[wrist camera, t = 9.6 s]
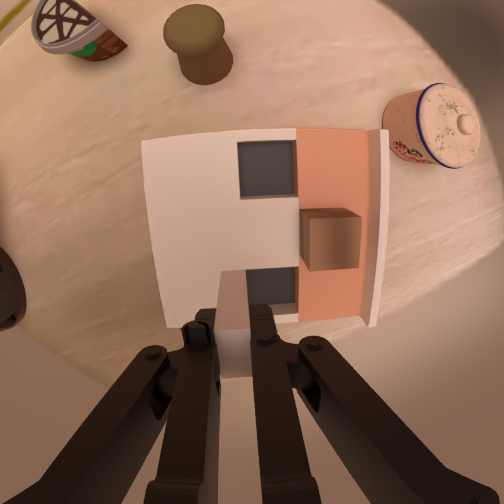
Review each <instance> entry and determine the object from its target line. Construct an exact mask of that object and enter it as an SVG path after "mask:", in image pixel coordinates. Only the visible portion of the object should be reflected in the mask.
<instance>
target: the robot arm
mask: <svg viewBox="0 0 504 504" xmlns="http://www.w3.org/2000/svg"><path fill="white" fill-rule="evenodd" d="M25 309H26V298H25V292H24V287H23V284H22V281H21V278H20V276H19V273H18V271H17V269H16V267H15V265H14V264H13V262H12V261H11V259H10V258H9V256H8V255H7V254H6V253H5V252H4V251H3V250H2V249H1V248H0V331H3V330H6V329H10V328H12V327H14V326H15V325H16V324H17V323H18V322H19V321H20V320H21V319H22V318H23V316H24V314H25ZM181 330H182V335H183V340H184V347H183V348H181V349H179V350H176V351H172V352H167V349H166V348H164V347H163V346H159V345H152V346H148V347H146V348H143V349H142V350H141V351H140V352H139V353H138V354H137V356H136V357H135V358H134V359H133V361H132V362H131V363H130V364H129V365H128V367H127V368H126V369H125V370H124V372H123V373H122V374H121V375H120V377H119V378H118V379H117V380H116V382H115V383H114V384H113V385H112V387H111V388H110V389H109V390H108V392H107V393H106V394H105V396H104V397H103V398H102V399H101V400H100V402H99V403H98V404H97V405H96V407H95V408H94V409H93V411H92V412H91V413H90V414H89V416H88V417H87V418H86V420H85V421H84V422H83V423H82V425H81V426H80V427H79V429H78V430H77V431H76V432H75V434H74V435H73V436H72V438H71V439H70V440H69V441H68V443H67V444H66V446H65V447H64V448H63V449H62V451H61V452H60V453H59V455H58V456H57V457H56V459H55V460H54V461H53V463H52V464H51V465H50V467H49V468H48V469H47V471H46V472H45V473H44V475H43V476H42V478H41V479H40V480H39V481H38V482H36V483H35V484H33V485H32V486H30V487H29V488H27V489H25V490H24V491H22V492H21V493H19V494H17V495H16V496H14V497H13V498H11V499H9V500H8V501H6V502H4V503H3V504H121V503H122V501H123V499H124V497H125V496H126V494H127V492H128V490H129V488H130V487H131V485H132V483H133V481H134V479H135V478H136V476H137V474H138V472H139V470H140V468H141V467H142V465H143V463H144V461H145V459H146V457H147V456H148V454H149V452H150V450H151V448H152V446H153V445H154V443H155V441H156V439H157V437H158V435H159V434H160V432H161V430H162V428H163V426H164V424H165V423H166V421H167V423H166V428H165V433H164V438H163V443H162V448H161V454H160V459H159V464H158V470H157V475H156V478H155V480H153V481H150V482H149V483H148V485H147V489H146V493H145V498H144V504H218V458H219V425H220V397H221V383H220V375H221V378H235V377H252V376H253V390H254V403H255V416H256V429H257V442H258V454H259V467H260V478H261V490H262V503H263V504H322V503H321V499H320V494H319V490H318V485H317V482H316V480H315V478H314V477H312V475H311V472H310V467H309V463H308V458H307V454H306V449H305V444H304V440H303V435H302V431H301V426H300V422H299V417H298V413H297V408H296V404H295V400H294V395H293V390H292V388H296V390H297V392H298V394H299V396H300V397H301V399H302V400H303V402H304V404H305V405H306V407H307V408H308V410H309V412H310V413H311V415H312V416H313V418H314V419H315V421H316V423H317V424H318V425H319V427H320V429H321V430H322V432H323V433H324V435H325V436H326V438H327V439H328V441H329V442H330V444H331V445H332V447H333V448H334V450H335V452H336V453H337V455H338V456H339V457H340V459H341V461H342V462H343V464H344V465H345V467H346V468H347V470H348V471H349V473H350V474H351V475H352V477H353V478H354V480H355V481H356V483H357V484H358V486H359V487H360V488H361V490H362V491H363V493H364V494H365V496H366V497H367V499H368V500H369V502H370V503H371V504H500V502H499V496H498V494H497V492H496V491H494V490H493V489H492V488H490V487H487V486H485V485H483V484H480V483H478V482H475V481H473V480H471V479H469V478H467V477H465V476H462V475H460V474H458V473H456V472H454V471H452V470H450V469H448V468H446V467H445V466H444V465H443V464H442V463H441V462H440V461H439V460H438V459H437V458H436V457H435V455H433V453H432V452H431V451H430V450H429V449H428V448H427V447H426V446H425V445H424V444H423V443H422V442H421V440H419V438H418V437H417V436H416V435H415V434H414V433H413V432H412V431H411V430H410V429H409V428H408V427H407V426H406V425H405V423H404V422H403V421H402V420H401V419H400V418H399V417H398V416H397V415H396V414H395V413H394V412H393V410H392V409H391V408H390V407H389V406H388V405H387V404H386V403H385V402H384V401H383V400H382V399H381V398H380V396H379V395H378V394H377V393H376V392H375V391H374V390H373V389H372V388H371V387H370V386H369V385H368V384H367V383H366V381H365V380H364V379H363V378H362V377H361V376H360V375H359V374H358V373H357V372H356V371H355V370H354V369H353V367H352V366H351V365H350V364H349V363H348V362H347V361H346V360H345V359H344V358H343V357H342V355H341V354H340V353H339V352H338V351H337V350H336V349H335V348H334V347H333V346H332V345H331V344H330V342H329V341H328V340H326V339H325V338H323V337H320V336H307V337H305V338H303V339H301V340H300V341H299V344H292V343H287V342H285V341H283V340H281V338H280V336H279V335H278V334H277V329H276V325H275V320H274V316H273V311H272V308H271V307H270V306H268V305H267V304H261V305H248V296H247V283H246V270H230V271H221V275H220V283H219V291H218V299H217V307H216V308H205V309H200V310H199V311H198V312H197V313H196V315H195V320H193V321H190V322H187V323H186V324H184V325H183V326H182V328H181Z"/></svg>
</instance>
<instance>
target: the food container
mask: <svg viewBox="0 0 504 504" xmlns="http://www.w3.org/2000/svg"><path fill="white" fill-rule="evenodd" d="M31 32H32V35H33V37H34V40H35V41H36V43H37V44H38V45H39V46H40V47H41V48H42V49H43V50H45V51H46V52H48V53H51V54H64V53H69V54H72V55H75V56H78V57H81V58H83V59H86V60H89V61H101V60H105V59H108V58H110V57H112V56H114V55H116V54H118V53H119V52H120V51H122V50H123V49H124V48H126V47H127V46H128V45H127V44H125V43H124V42H123V41H122V40H121V39H120V38H119V37H118V36H116V35H115V34H114V33H113V32H112V31H111V30H109V29H108V28H107V27H106V26H105V25H104V24H102V23H101V22H100V21H99V20H98V19H97V18H95V17H94V16H93V15H92V14H91V13H89V12H88V11H87V10H86V9H84V8H83V7H82V6H81V5H79V4H78V3H77V2H76V1H74V0H40V1H39V3H38V5H37V7H36V9H35V11H34V14H33V17H32V21H31Z"/></svg>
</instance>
